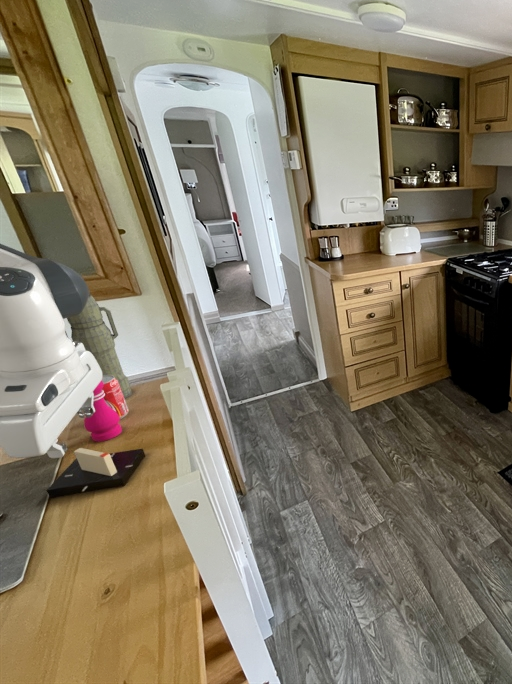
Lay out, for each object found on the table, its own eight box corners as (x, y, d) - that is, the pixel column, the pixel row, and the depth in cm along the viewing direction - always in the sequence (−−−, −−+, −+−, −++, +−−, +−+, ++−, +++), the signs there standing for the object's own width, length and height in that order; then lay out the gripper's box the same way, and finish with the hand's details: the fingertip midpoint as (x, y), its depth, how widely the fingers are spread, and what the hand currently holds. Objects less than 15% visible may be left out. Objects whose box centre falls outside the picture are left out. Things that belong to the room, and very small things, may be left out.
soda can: (125, 408, 119) (112, 371, 114) (133, 416, 115) (119, 378, 111) (95, 418, 114) (80, 380, 109) (102, 427, 110) (86, 388, 105)
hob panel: (42, 507, 83) (37, 498, 82) (79, 466, 95) (75, 457, 94) (122, 493, 87) (118, 484, 86) (148, 455, 99) (145, 447, 98)
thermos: (141, 393, 128) (107, 294, 114) (95, 408, 118) (52, 302, 105) (132, 385, 132) (98, 289, 119) (87, 399, 123) (45, 297, 110)
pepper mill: (89, 434, 107) (62, 372, 99) (122, 424, 112) (99, 363, 104) (91, 446, 102) (64, 382, 95) (126, 434, 107) (102, 372, 100)
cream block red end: (81, 469, 91) (72, 450, 88) (88, 465, 92) (79, 446, 90) (111, 476, 89) (103, 456, 87) (117, 472, 90) (109, 453, 88)
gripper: (54, 336, 66) (82, 396, 73) (-34, 416, 50) (12, 484, 57) (99, 335, 68) (122, 393, 75) (29, 412, 52) (66, 478, 59)
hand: (74, 433), depth 66 cm, fingers open, 8 cm apart
